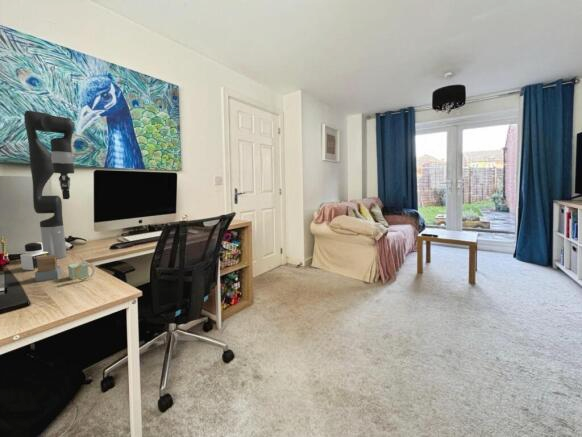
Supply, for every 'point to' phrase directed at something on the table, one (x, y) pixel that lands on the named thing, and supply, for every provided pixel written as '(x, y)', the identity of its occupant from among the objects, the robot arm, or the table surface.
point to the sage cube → (80, 273)
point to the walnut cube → (47, 263)
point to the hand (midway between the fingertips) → (66, 198)
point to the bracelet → (82, 266)
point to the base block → (48, 275)
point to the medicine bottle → (32, 255)
